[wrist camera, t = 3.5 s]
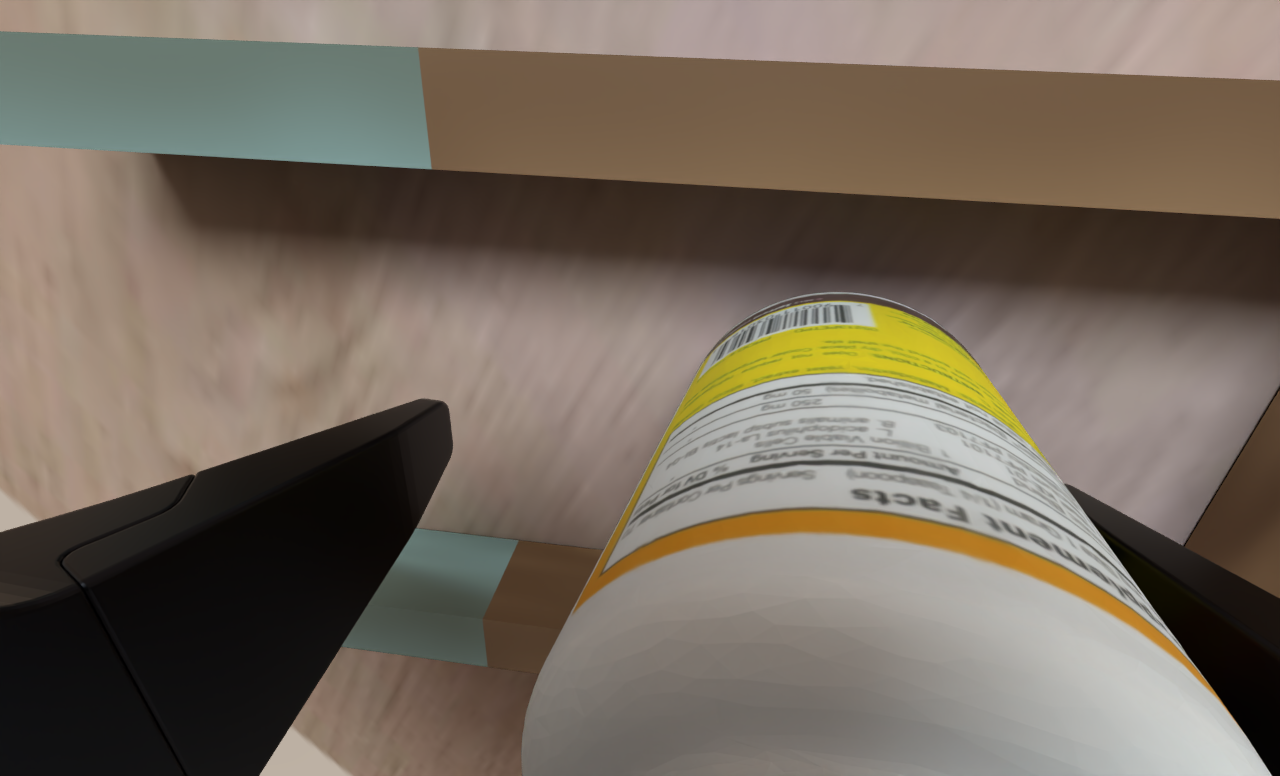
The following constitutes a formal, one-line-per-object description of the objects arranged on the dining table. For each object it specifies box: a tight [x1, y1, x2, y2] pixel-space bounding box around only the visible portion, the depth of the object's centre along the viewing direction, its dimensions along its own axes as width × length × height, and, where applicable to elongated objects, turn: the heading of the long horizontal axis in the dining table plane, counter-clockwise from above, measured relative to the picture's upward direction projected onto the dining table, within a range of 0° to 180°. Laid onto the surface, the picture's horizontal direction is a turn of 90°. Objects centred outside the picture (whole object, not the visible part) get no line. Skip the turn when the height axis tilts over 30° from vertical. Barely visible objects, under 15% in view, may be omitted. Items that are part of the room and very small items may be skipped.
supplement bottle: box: [521, 292, 1272, 776], centre depth 7 cm, size 6×6×10 cm
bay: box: [0, 31, 1280, 674], centre depth 11 cm, size 12×23×2 cm, turn 87°
